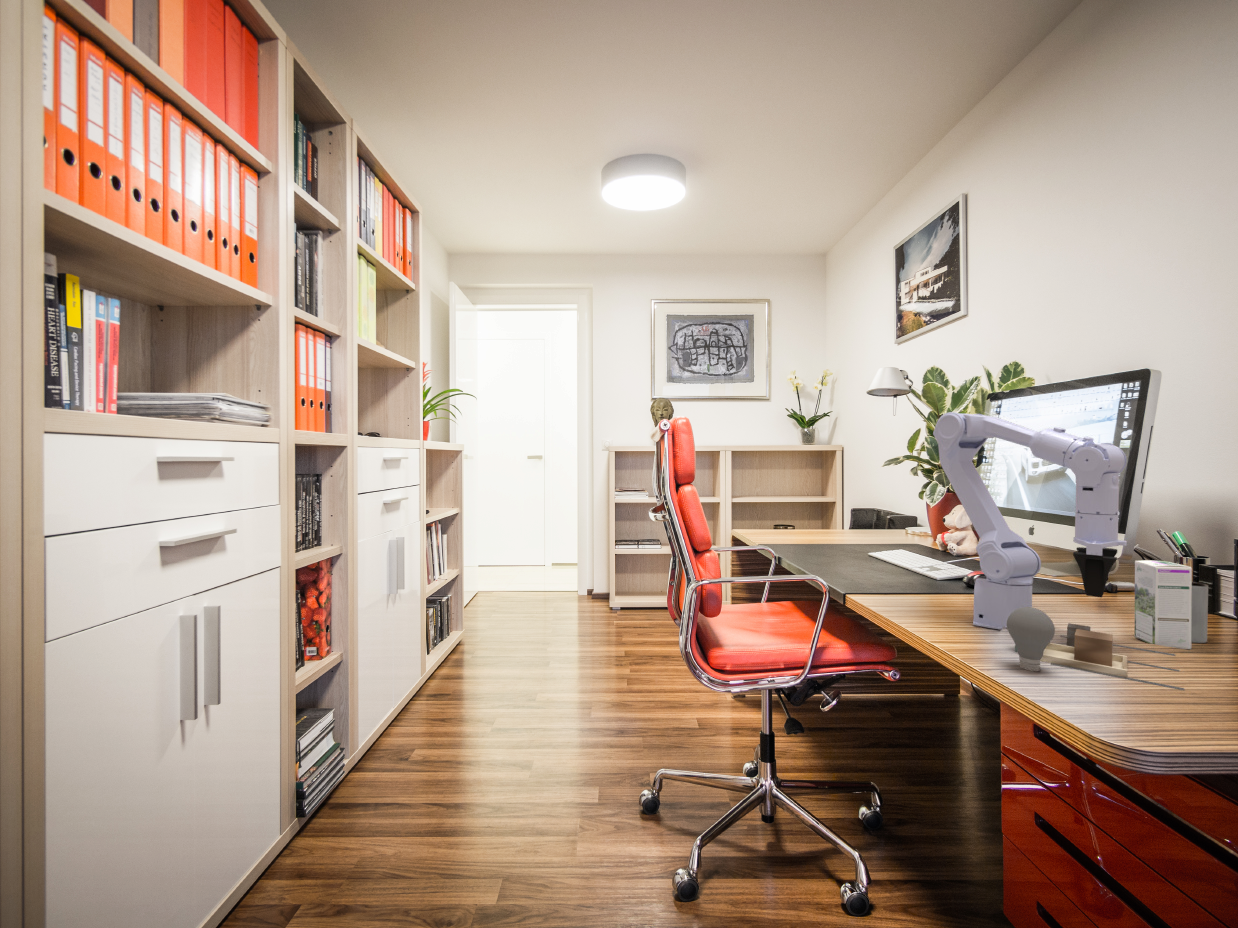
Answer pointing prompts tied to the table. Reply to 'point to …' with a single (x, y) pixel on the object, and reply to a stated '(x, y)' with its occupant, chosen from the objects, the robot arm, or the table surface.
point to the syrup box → (1163, 603)
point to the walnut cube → (1093, 647)
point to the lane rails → (1129, 662)
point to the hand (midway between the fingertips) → (1094, 592)
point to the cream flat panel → (1071, 632)
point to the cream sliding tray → (1066, 657)
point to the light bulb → (1030, 635)
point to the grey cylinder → (1199, 612)
